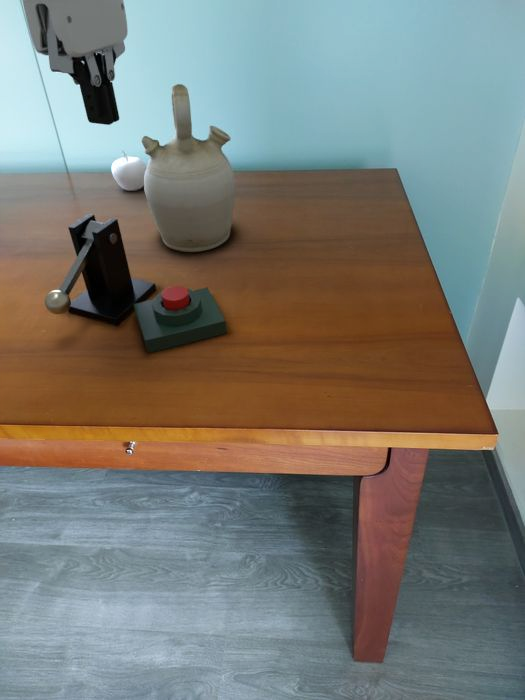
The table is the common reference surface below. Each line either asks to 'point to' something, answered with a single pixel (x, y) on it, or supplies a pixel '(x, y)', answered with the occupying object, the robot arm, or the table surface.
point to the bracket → (107, 275)
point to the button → (175, 298)
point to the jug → (189, 183)
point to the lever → (72, 274)
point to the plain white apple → (129, 172)
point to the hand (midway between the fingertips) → (104, 121)
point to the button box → (179, 321)
